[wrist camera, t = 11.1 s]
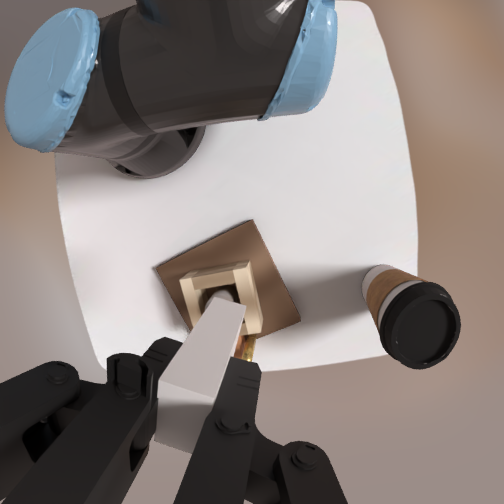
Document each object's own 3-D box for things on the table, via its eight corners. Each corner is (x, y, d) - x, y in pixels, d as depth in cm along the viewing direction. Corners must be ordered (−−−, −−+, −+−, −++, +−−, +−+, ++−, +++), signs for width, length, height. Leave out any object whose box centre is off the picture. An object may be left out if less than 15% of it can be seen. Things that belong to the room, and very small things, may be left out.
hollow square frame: (189, 271, 37) (179, 279, 34) (250, 259, 36) (245, 267, 32) (214, 358, 40) (208, 373, 36) (270, 351, 38) (268, 367, 35)
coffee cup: (376, 326, 38) (414, 388, 23) (339, 285, 37) (369, 338, 22) (419, 285, 36) (476, 329, 21) (385, 241, 35) (441, 269, 21)
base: (159, 266, 39) (138, 278, 33) (252, 219, 37) (246, 224, 30) (208, 353, 41) (196, 377, 35) (300, 317, 38) (302, 339, 32)
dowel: (246, 333, 38) (238, 360, 32) (254, 330, 38) (248, 356, 32) (250, 341, 39) (243, 368, 32) (258, 338, 38) (252, 365, 32)
